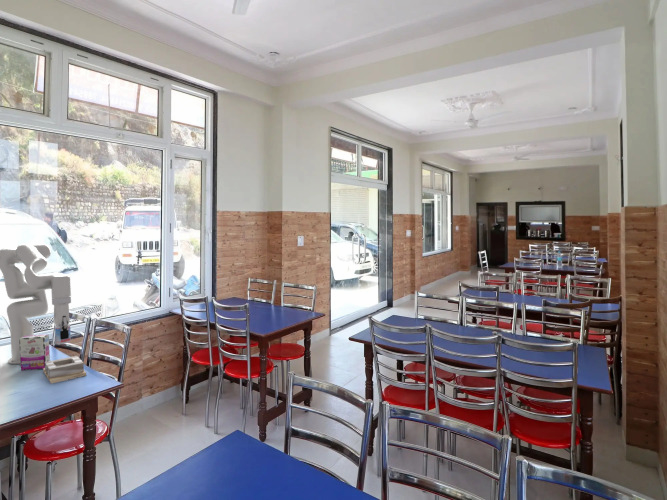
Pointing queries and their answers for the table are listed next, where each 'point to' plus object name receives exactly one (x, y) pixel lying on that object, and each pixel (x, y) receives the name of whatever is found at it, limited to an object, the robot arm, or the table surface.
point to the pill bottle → (57, 335)
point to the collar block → (64, 369)
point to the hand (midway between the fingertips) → (63, 336)
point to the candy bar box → (34, 351)
